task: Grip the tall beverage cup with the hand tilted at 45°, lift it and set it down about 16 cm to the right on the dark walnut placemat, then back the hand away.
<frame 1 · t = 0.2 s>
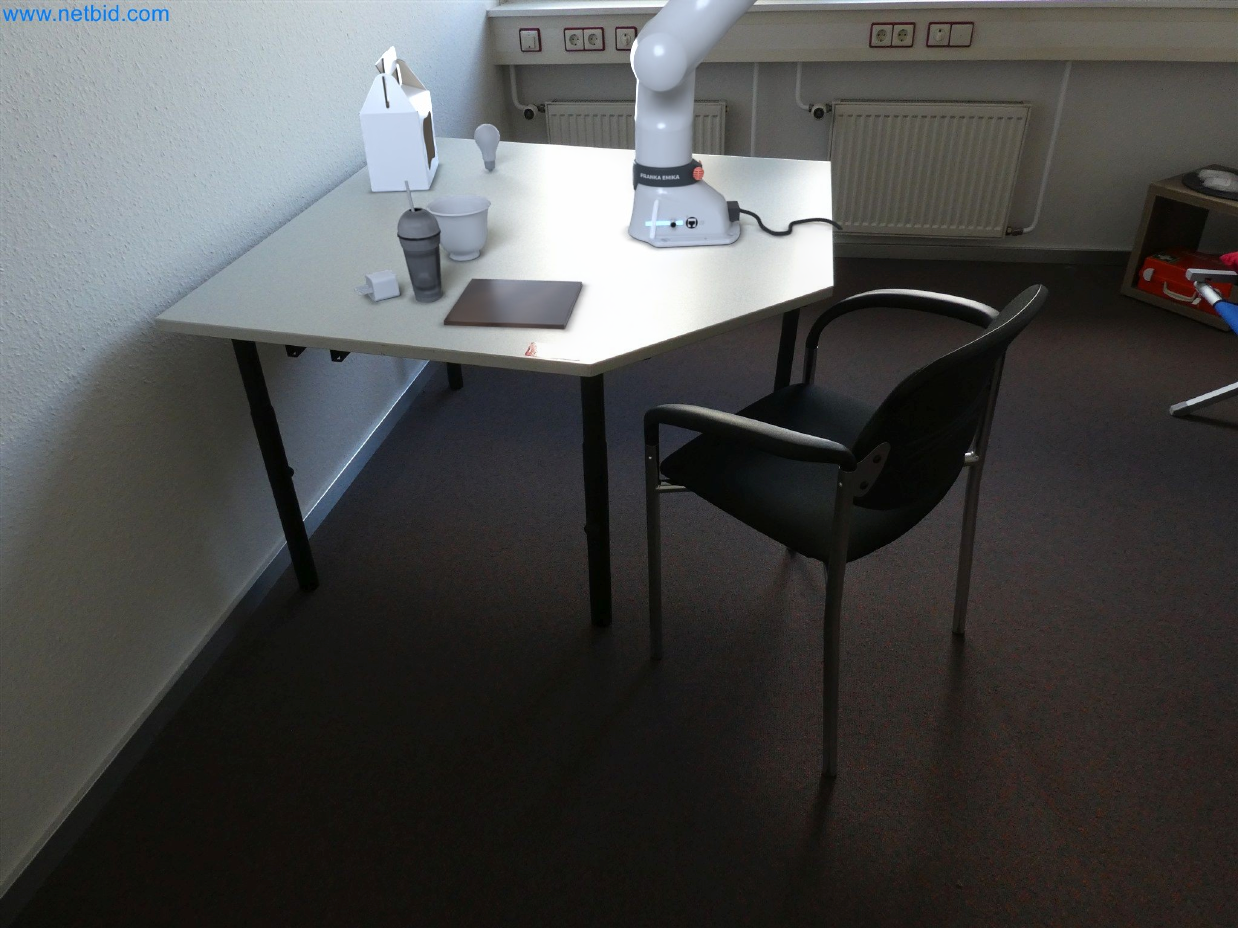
gable box: (407, 178, 218), on the table
mat: (515, 304, 154), on the table
beverage cup: (428, 298, 157), on the table
lightbulb: (490, 171, 222), on the table
usb wall charger: (377, 299, 158), on the table
teacup: (458, 258, 173), on the table
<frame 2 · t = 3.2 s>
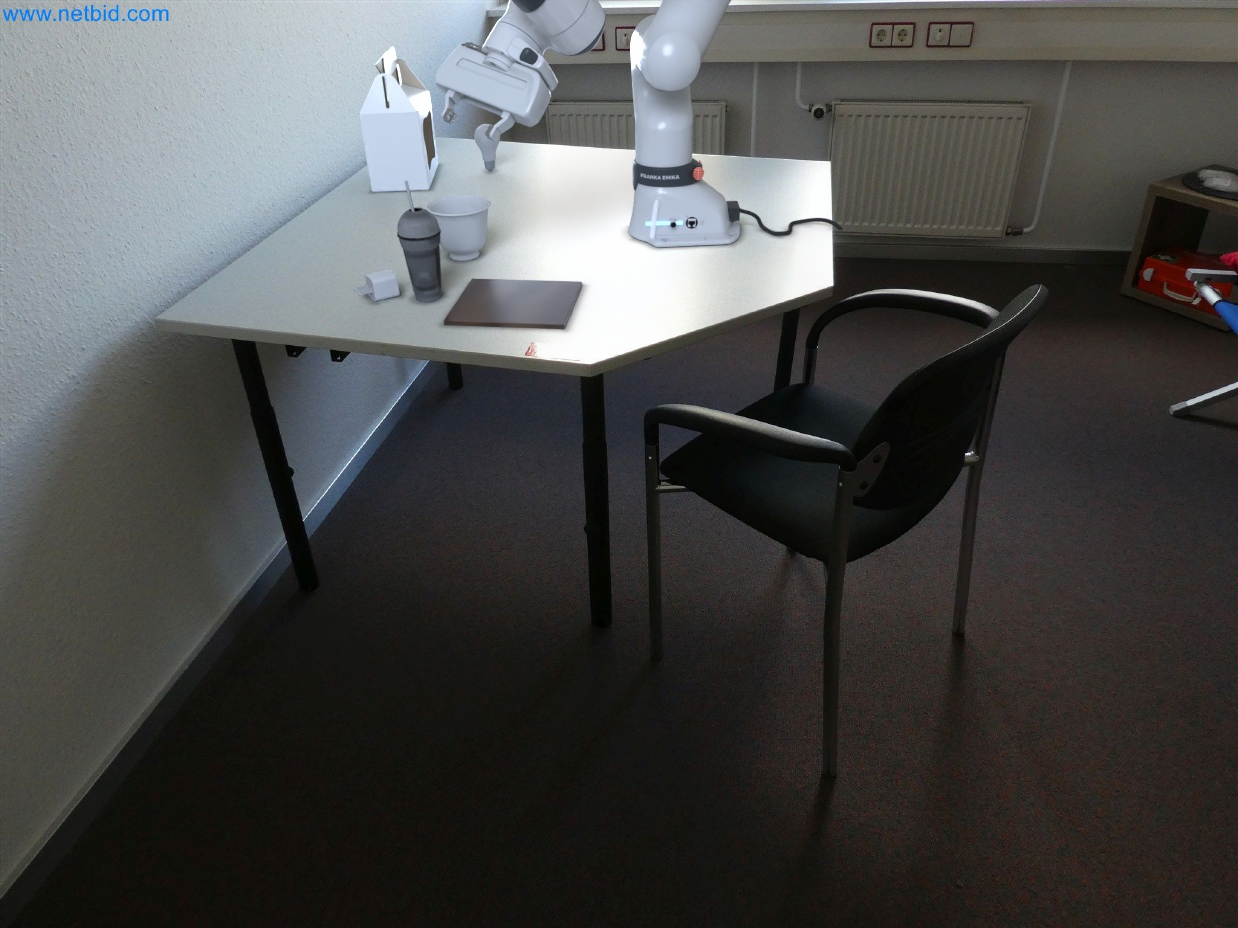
hand: (467, 129, 146), 27 cm above the table, tool tilted 45°, fingers open, 8 cm apart
nothing on the table moved.
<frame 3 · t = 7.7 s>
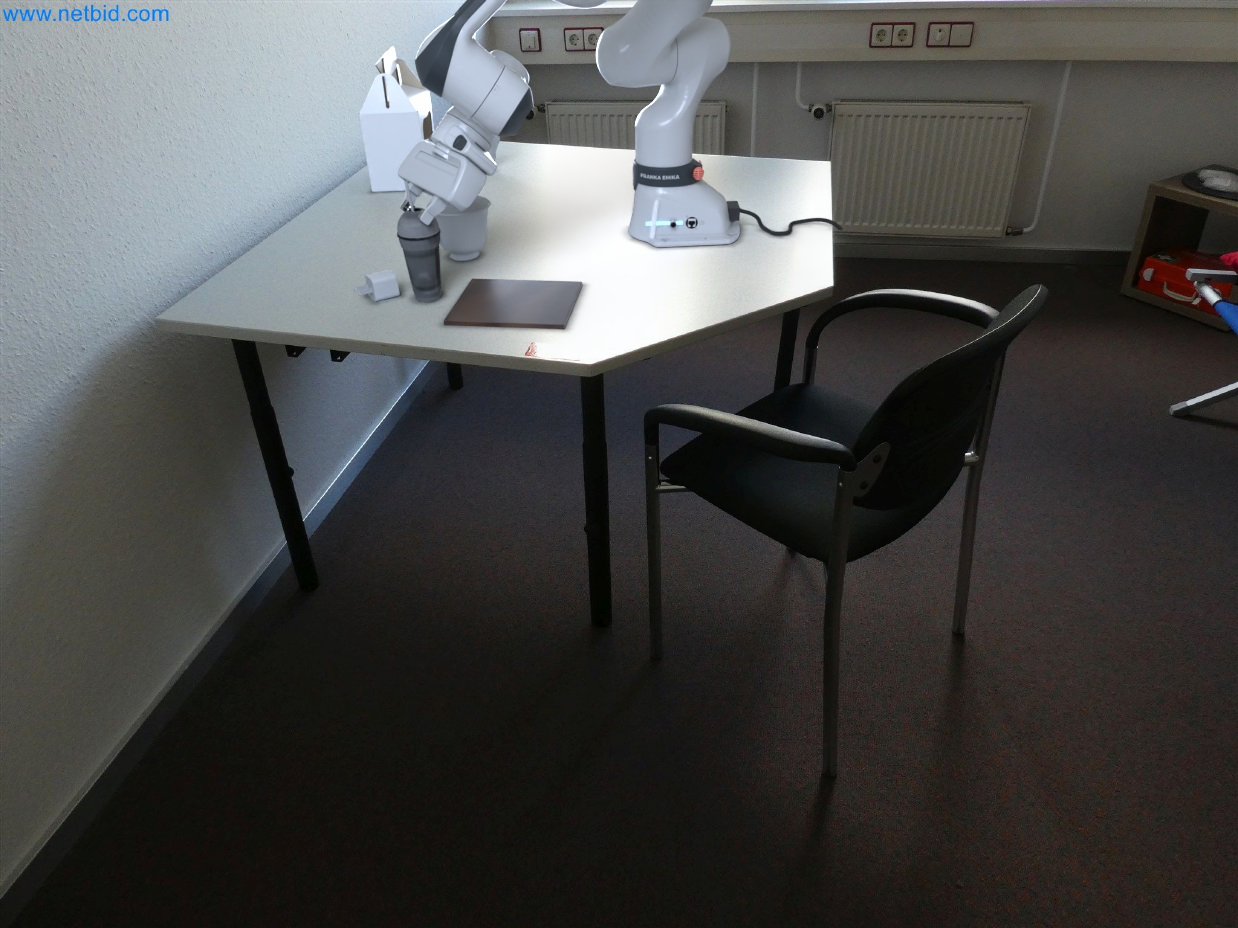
hand: (413, 217, 149), 14 cm above the table, tool tilted 45°, fingers closed on beverage cup, 5 cm apart
beverage cup: (428, 298, 157), on the table, touching gripper
everything else where it was.
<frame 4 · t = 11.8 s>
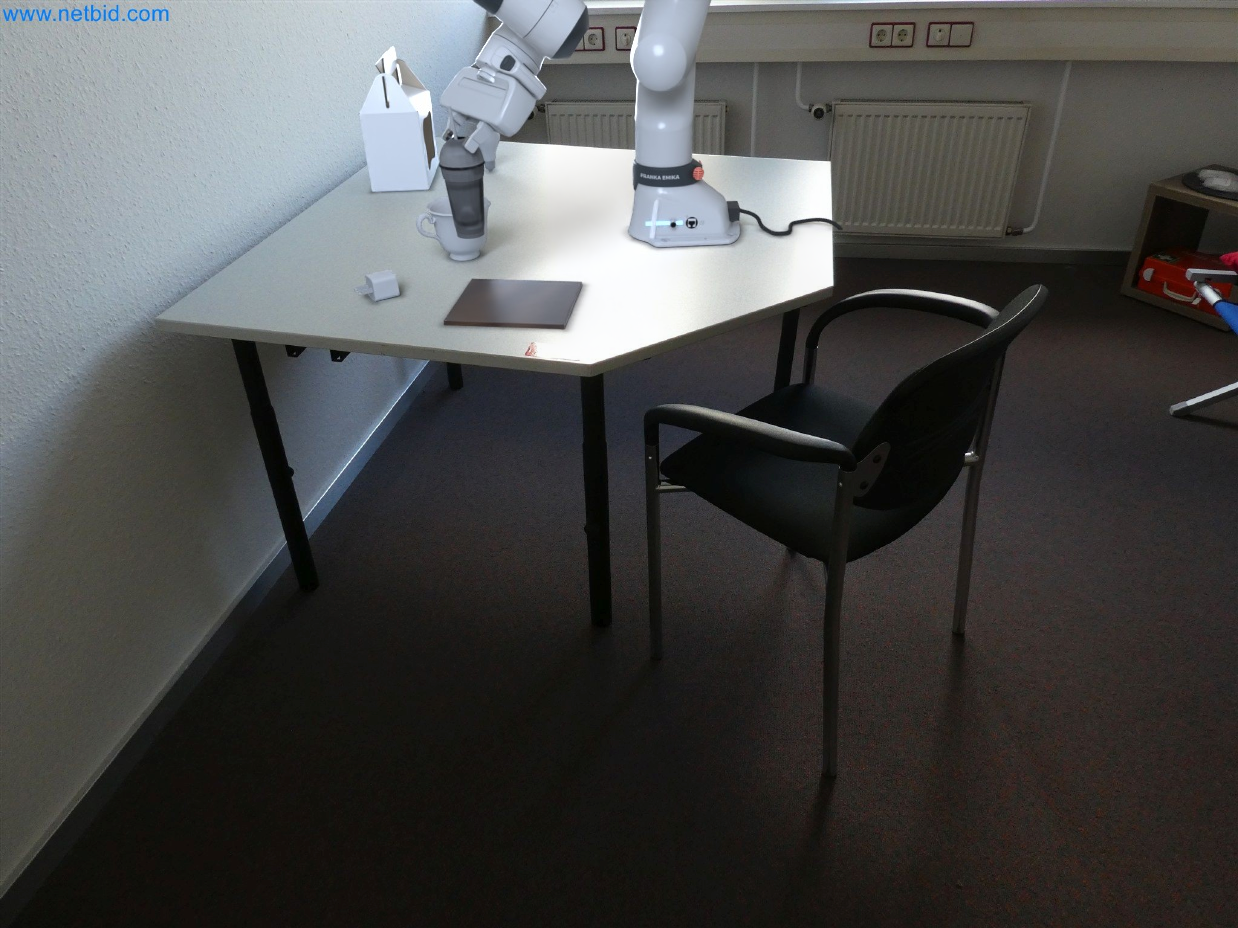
hand: (456, 146, 141), 26 cm above the table, tool tilted 45°, fingers closed on beverage cup, 5 cm apart
beverage cup: (470, 235, 149), point 12 cm above the table, touching gripper
everything else where it was.
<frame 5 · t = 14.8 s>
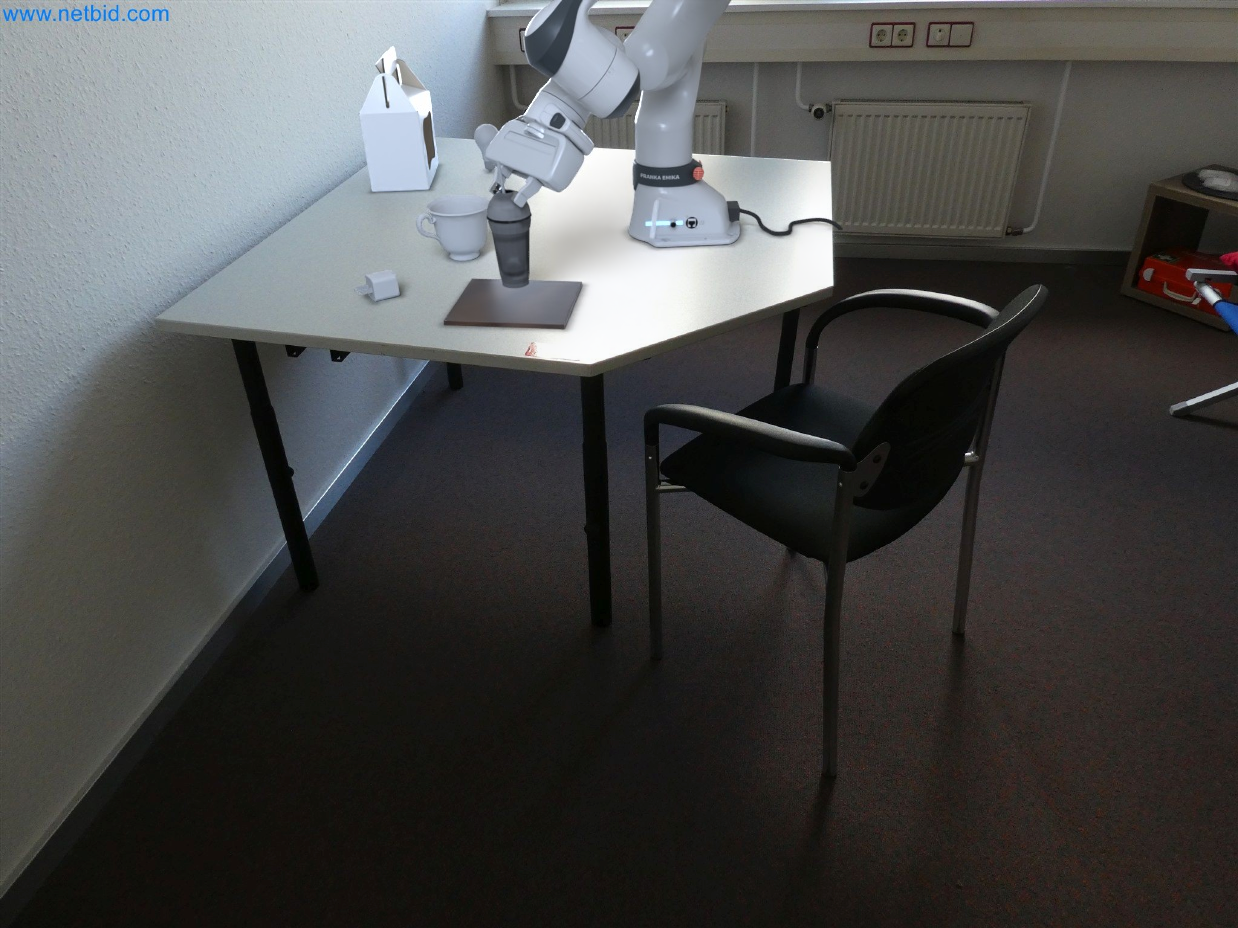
hand: (504, 199, 143), 18 cm above the table, tool tilted 45°, fingers closed on beverage cup, 5 cm apart
beverage cup: (515, 284, 152), point 4 cm above the table, touching gripper
everything else where it was.
when the fingers open (15 cm above the table, at t = 16.4 s): beverage cup stays where it is, resting on mat.
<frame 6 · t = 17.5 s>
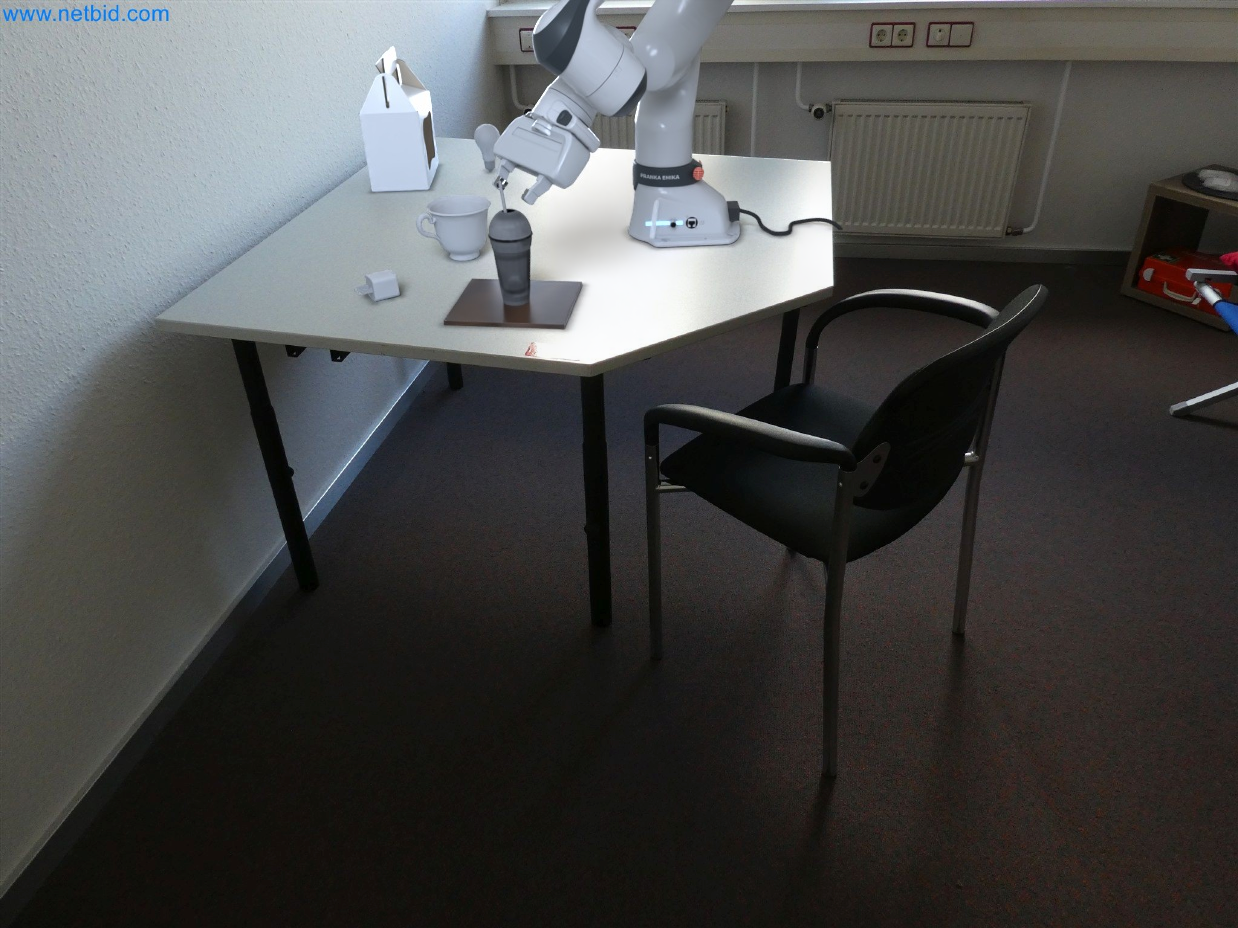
hand: (511, 195, 145), 18 cm above the table, tool tilted 45°, fingers open, 8 cm apart
beverage cup: (516, 301, 153), point 1 cm above the table, touching mat
everything else where it was.
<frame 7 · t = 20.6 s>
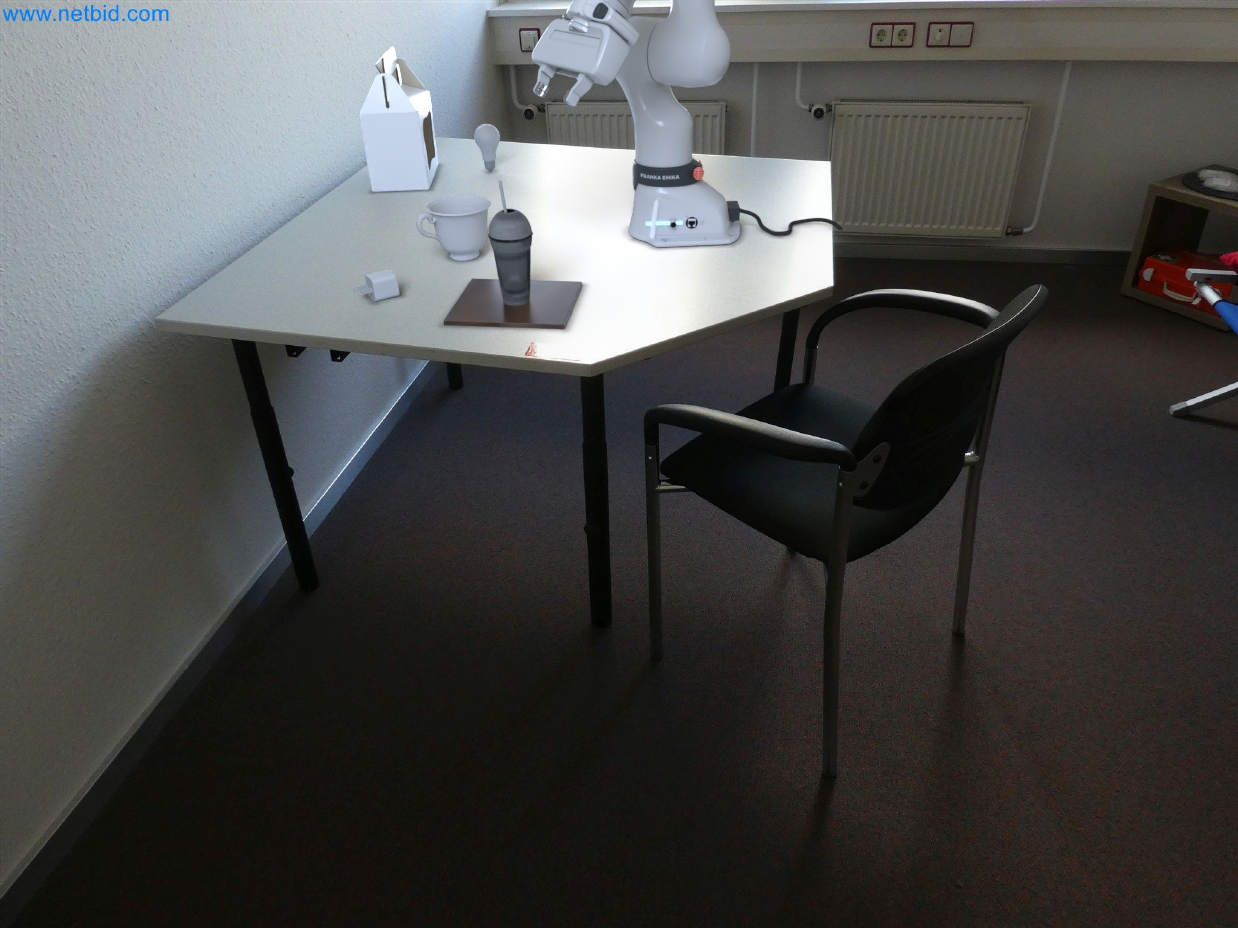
hand: (552, 99, 143), 31 cm above the table, tool tilted 40°, fingers open, 8 cm apart
nothing on the table moved.
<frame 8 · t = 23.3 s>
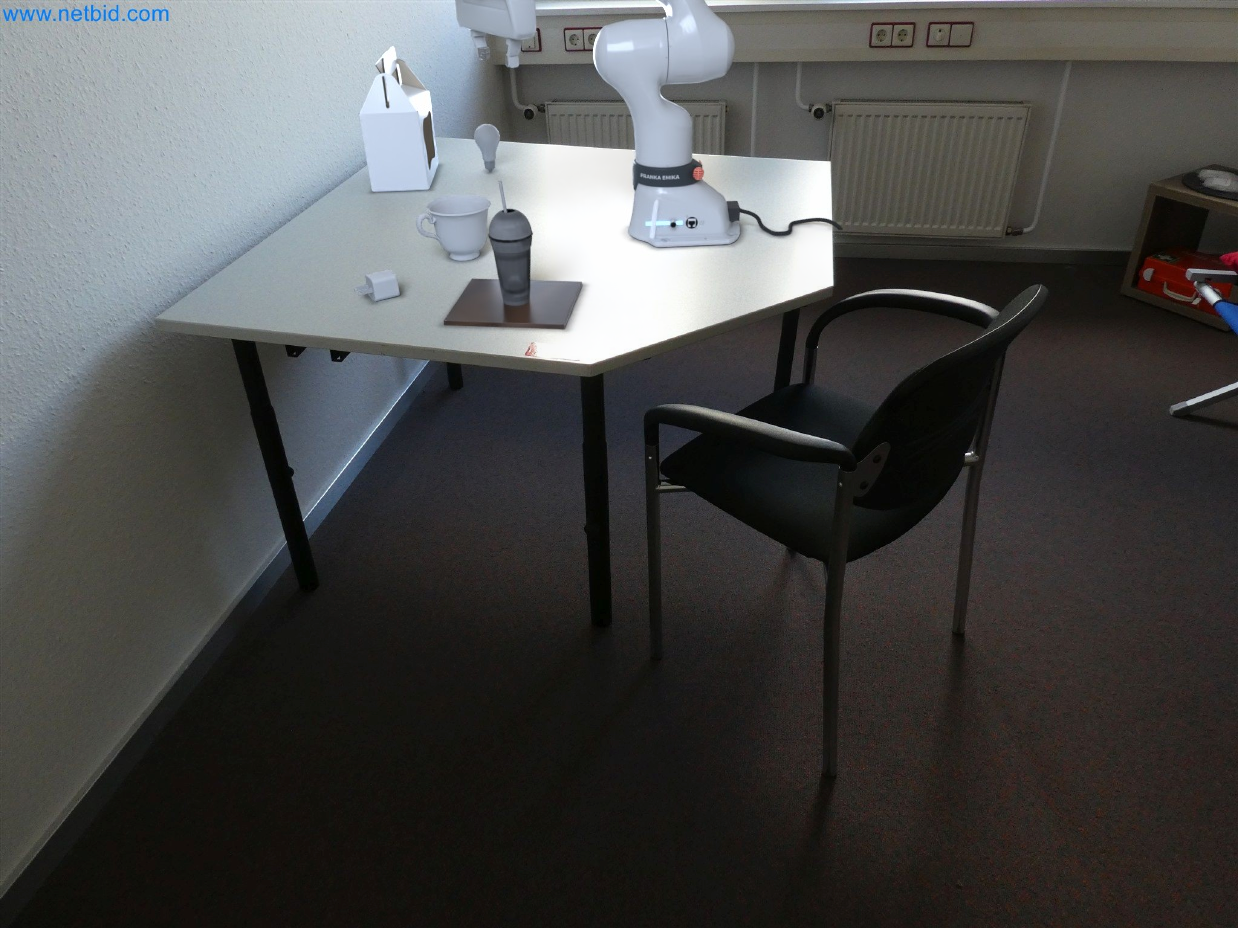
hand: (497, 63, 150), 35 cm above the table, tool pointing down, fingers open, 8 cm apart
nothing on the table moved.
at the end: beverage cup inside the target area on the mat (0.2 cm from its centre), point 0.6 cm above the mat's base; beverage cup tilted 0°; the gripper is holding nothing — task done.
